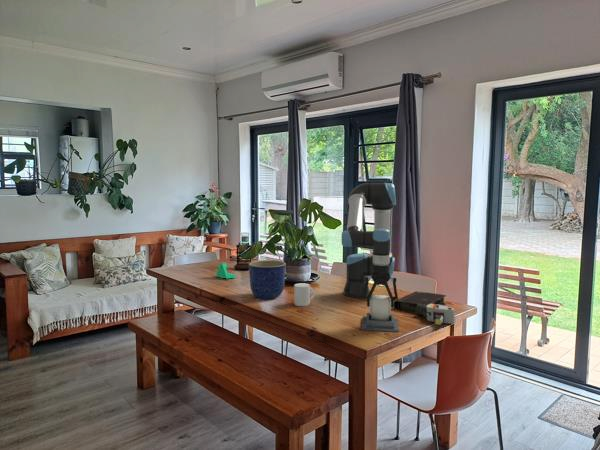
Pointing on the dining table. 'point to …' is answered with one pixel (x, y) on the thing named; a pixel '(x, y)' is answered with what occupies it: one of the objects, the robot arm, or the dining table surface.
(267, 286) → the planter
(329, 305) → the dining table surface
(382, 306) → the plug
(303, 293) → the mug
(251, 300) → the dining table surface
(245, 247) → the dark piece
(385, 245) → the robot arm
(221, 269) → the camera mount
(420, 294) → the diary
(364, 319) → the grey square tray
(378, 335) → the dining table surface
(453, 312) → the film camera
